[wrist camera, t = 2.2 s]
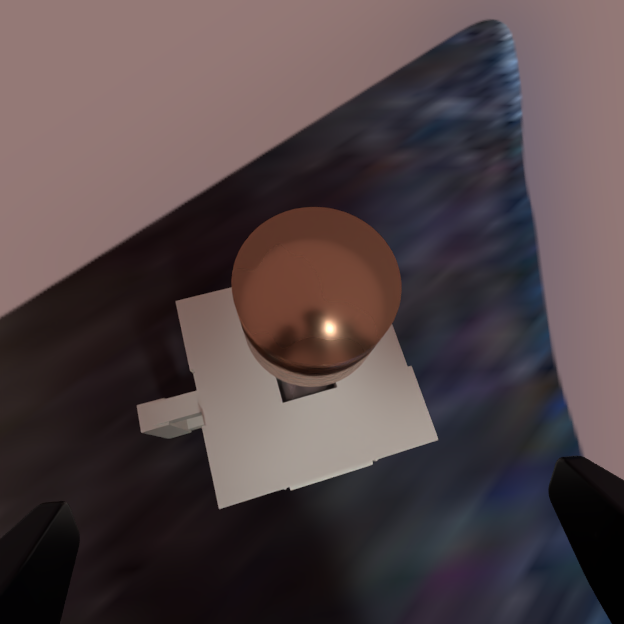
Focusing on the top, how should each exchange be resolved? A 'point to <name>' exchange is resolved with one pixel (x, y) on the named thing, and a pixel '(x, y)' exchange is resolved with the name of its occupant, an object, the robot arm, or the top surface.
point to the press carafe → (283, 410)
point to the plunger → (314, 296)
